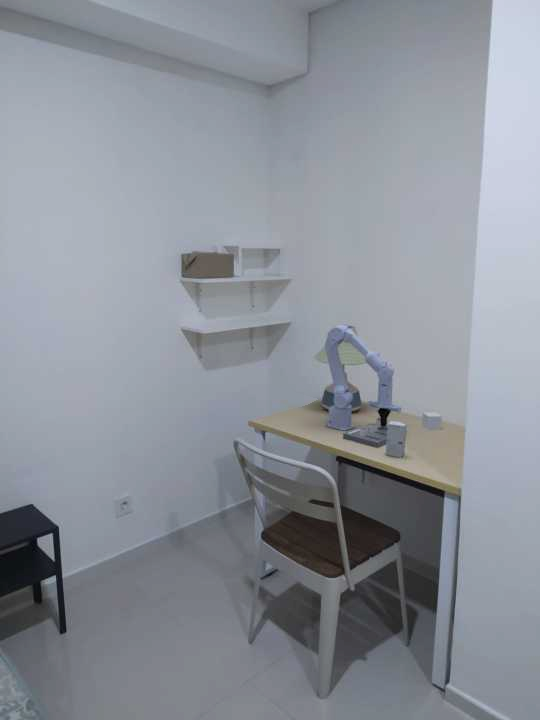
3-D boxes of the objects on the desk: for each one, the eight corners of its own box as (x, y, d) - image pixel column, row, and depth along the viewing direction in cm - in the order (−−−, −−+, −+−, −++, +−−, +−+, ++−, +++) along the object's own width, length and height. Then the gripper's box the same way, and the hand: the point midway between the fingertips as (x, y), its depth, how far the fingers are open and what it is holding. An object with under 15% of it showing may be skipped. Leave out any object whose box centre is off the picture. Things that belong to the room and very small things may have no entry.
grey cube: (427, 430, 236) (428, 416, 235) (422, 426, 242) (422, 412, 241) (441, 429, 237) (442, 416, 236) (435, 425, 242) (436, 412, 241)
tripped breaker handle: (376, 426, 230) (376, 419, 230) (380, 425, 233) (380, 417, 232) (380, 427, 229) (380, 420, 228) (384, 426, 231) (384, 418, 231)
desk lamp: (301, 408, 266) (303, 322, 259) (340, 399, 285) (343, 319, 278) (342, 420, 248) (346, 328, 240) (380, 410, 266) (385, 324, 259)
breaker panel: (343, 438, 222) (343, 425, 221) (373, 427, 238) (373, 415, 237) (377, 447, 212) (378, 434, 211) (406, 435, 227) (407, 422, 226)
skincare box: (385, 455, 204) (387, 423, 202) (389, 451, 207) (390, 420, 205) (401, 458, 201) (403, 426, 199) (405, 454, 204) (407, 423, 202)
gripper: (364, 392, 229) (363, 424, 232) (395, 398, 220) (394, 431, 222) (373, 390, 235) (372, 421, 237) (404, 395, 225) (402, 427, 227)
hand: (383, 425), depth 230 cm, fingers closed, pressing on tripped breaker handle
